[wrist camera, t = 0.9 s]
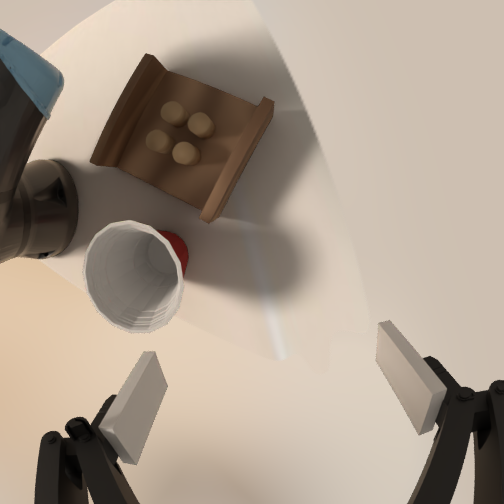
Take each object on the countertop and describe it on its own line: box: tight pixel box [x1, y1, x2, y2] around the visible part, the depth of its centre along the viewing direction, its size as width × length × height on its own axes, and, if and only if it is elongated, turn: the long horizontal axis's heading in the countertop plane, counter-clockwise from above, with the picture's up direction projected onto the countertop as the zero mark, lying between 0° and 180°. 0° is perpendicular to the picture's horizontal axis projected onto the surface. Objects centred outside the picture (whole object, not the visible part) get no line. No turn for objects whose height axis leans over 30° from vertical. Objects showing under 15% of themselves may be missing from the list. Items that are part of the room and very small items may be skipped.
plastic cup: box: [83, 220, 189, 333], centre depth 30 cm, size 11×11×12 cm
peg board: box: [90, 54, 275, 224], centre depth 29 cm, size 16×14×6 cm
